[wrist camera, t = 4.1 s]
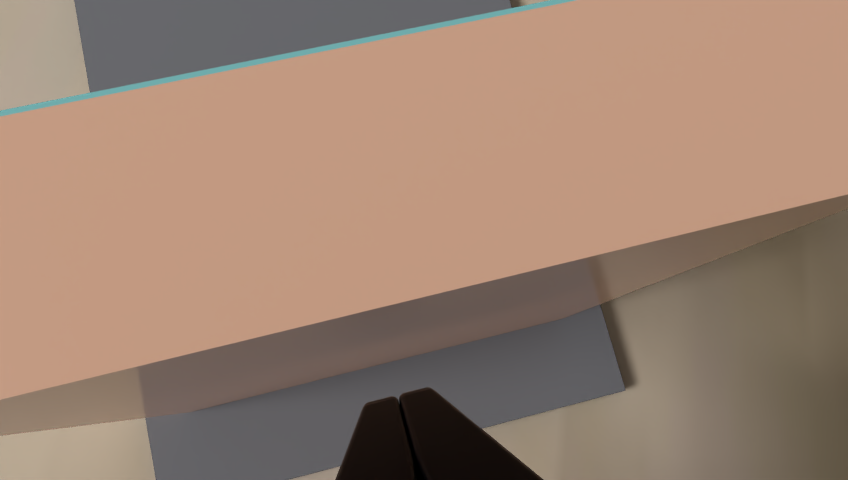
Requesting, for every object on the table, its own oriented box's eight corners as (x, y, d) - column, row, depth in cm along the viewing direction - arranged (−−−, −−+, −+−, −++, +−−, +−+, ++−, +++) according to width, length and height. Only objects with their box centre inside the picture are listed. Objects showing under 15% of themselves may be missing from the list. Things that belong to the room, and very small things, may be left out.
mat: (620, 390, 17) (625, 390, 17) (167, 510, 16) (161, 513, 16) (430, -251, 21) (431, -263, 20) (46, -191, 20) (40, -202, 19)
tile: (562, 318, 17) (946, 169, 6) (189, 412, 16) (-305, 472, 5) (536, 230, 18) (844, -82, 6) (172, 316, 17) (-321, 146, 5)
